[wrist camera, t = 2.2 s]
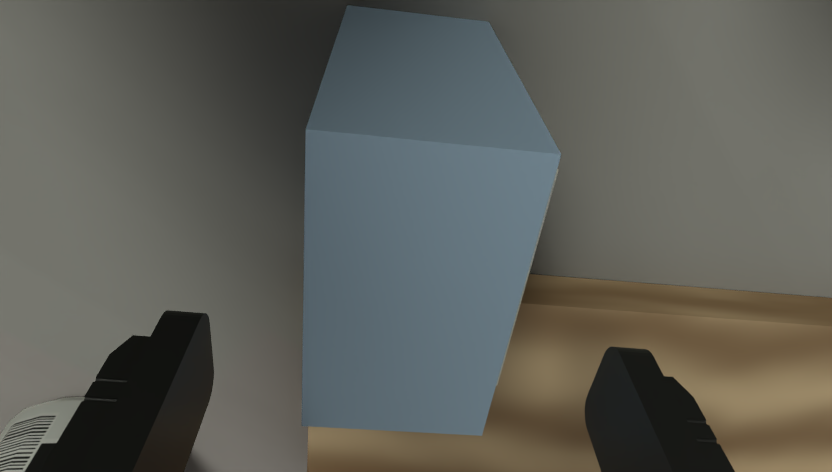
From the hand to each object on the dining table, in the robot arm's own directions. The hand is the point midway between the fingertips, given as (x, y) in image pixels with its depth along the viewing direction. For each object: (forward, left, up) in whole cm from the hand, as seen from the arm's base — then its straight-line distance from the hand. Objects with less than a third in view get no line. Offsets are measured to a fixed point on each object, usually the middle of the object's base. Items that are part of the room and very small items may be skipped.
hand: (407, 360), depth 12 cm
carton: (0, 0, -11) cm, 11 cm away
